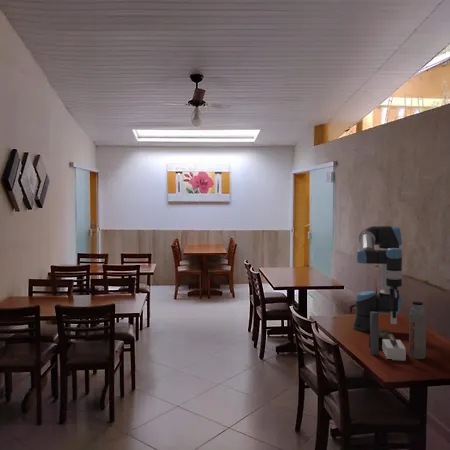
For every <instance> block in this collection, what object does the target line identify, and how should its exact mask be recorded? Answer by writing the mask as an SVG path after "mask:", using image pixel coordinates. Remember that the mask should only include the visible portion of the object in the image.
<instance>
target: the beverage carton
mask: <svg viewBox="0 0 450 450" xmlns="http://www.w3.org/2000/svg"><path fill="white" fill-rule="evenodd" d="M389 334H390V329H389V330H387V329H382V328H378V345H379V349H380V350H382V339H389V338H388V335H389ZM368 346H369V348H370V336H369V342H368Z"/></svg>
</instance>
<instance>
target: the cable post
mask: <svg viewBox="0 0 450 450" xmlns="http://www.w3.org/2000/svg"><path fill="white" fill-rule="evenodd" d="M378 329H379V313H378V312H370V332H369V333H370V335H369V337H370V347H369V348H370V355H371V356H375V355H376V356H379V355H378V354H379V349H380V348H379V345H378Z"/></svg>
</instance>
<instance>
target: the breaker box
mask: <svg viewBox="0 0 450 450" xmlns="http://www.w3.org/2000/svg"><path fill="white" fill-rule="evenodd" d="M396 342H397V345H392V344H391V342H390V340H389V339H382V349H381V350H383V351H382V353H383V352H384V353H383V355H384V354H385V355H384V357H385V356H386V357H385V359H386V358H387V359H392V360H391V361H403V362H404V361H407V360H406V359H407V356H406V355H407V353H406V352H407V350H406V349H407V348H406V347H405V345H404V343H403V342H402V341H401V339H396ZM387 359H386V360H387Z"/></svg>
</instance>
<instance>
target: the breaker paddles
mask: <svg viewBox="0 0 450 450" xmlns="http://www.w3.org/2000/svg"><path fill="white" fill-rule="evenodd" d="M388 338H389V340H390V342H391V344H392V345H397V342H396V340H397V339H396V338H395V336H394V334H393V333H389V335H388Z"/></svg>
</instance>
